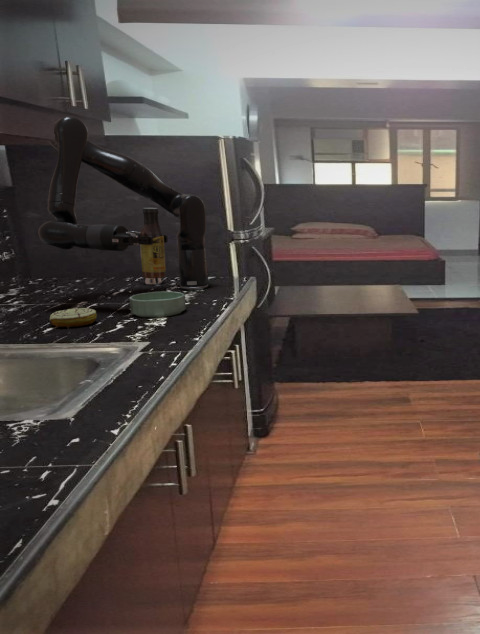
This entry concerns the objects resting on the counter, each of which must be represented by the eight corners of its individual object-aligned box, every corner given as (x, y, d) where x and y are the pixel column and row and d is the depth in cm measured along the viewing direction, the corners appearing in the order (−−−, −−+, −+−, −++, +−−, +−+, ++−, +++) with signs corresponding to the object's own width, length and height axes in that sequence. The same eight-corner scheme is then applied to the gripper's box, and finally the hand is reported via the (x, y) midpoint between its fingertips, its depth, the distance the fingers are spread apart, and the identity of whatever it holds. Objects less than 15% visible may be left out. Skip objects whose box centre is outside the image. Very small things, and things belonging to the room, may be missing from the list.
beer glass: (158, 285, 222) (155, 244, 219) (139, 285, 222) (136, 244, 219) (166, 282, 229) (163, 243, 226) (148, 282, 229) (145, 242, 226)
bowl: (152, 306, 185) (150, 290, 184) (195, 308, 182) (194, 292, 181) (119, 316, 171) (117, 299, 169) (166, 319, 168) (165, 301, 167)
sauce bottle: (157, 279, 170) (152, 208, 166) (137, 278, 171) (132, 208, 167) (171, 276, 176) (166, 207, 172) (152, 275, 178) (147, 207, 173)
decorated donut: (66, 319, 167) (64, 306, 166) (104, 319, 166) (103, 306, 166) (42, 328, 156) (40, 314, 156) (83, 328, 156) (82, 314, 156)
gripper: (88, 226, 166) (142, 228, 163) (123, 223, 180) (173, 224, 177) (91, 253, 168) (144, 255, 165) (125, 247, 182) (175, 250, 179)
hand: (159, 239), depth 171 cm, fingers closed on sauce bottle, 6 cm apart
